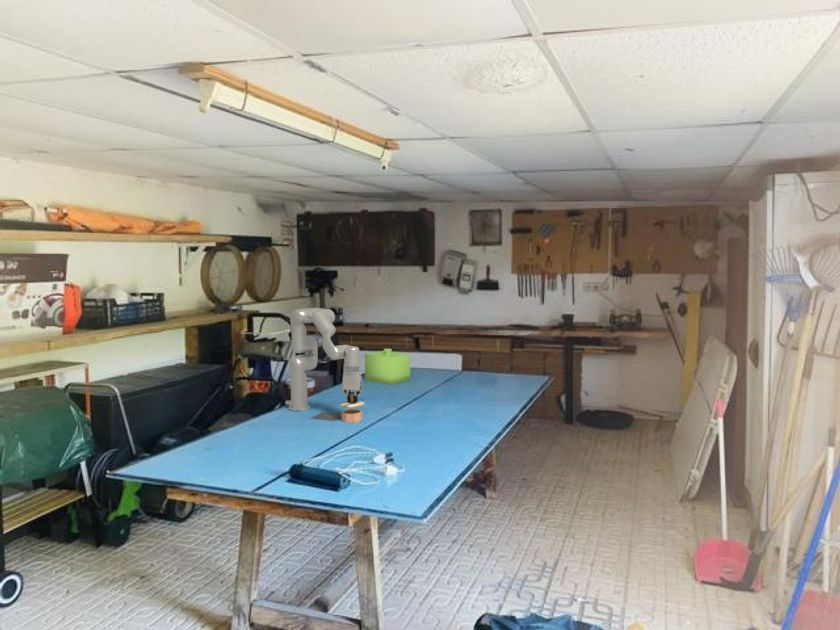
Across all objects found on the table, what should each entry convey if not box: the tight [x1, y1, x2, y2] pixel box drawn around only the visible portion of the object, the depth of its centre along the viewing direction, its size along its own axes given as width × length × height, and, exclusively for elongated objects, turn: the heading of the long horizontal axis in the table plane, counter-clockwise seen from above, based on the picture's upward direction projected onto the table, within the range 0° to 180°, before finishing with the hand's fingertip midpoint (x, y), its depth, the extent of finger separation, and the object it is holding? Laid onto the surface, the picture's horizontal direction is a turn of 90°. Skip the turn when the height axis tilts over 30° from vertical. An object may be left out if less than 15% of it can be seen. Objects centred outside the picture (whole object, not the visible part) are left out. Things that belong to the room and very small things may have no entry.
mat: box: [309, 412, 342, 422], centre depth 366 cm, size 15×15×1 cm
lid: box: [340, 391, 365, 409], centre depth 358 cm, size 13×13×7 cm
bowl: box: [341, 408, 363, 424], centre depth 359 cm, size 11×11×5 cm
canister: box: [364, 348, 411, 386], centre depth 474 cm, size 25×21×23 cm
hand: (352, 402), depth 359 cm, fingers closed on lid, 2 cm apart
